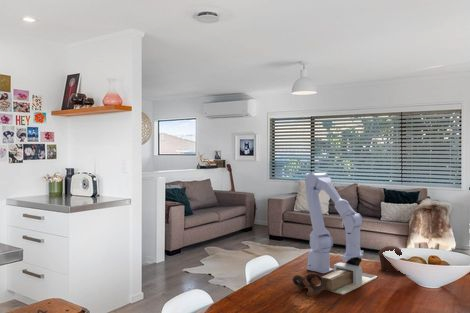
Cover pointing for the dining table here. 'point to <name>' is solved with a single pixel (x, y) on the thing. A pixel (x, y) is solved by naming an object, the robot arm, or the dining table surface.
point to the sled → (337, 279)
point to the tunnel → (358, 277)
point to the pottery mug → (309, 283)
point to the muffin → (384, 262)
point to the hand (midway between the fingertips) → (353, 275)
